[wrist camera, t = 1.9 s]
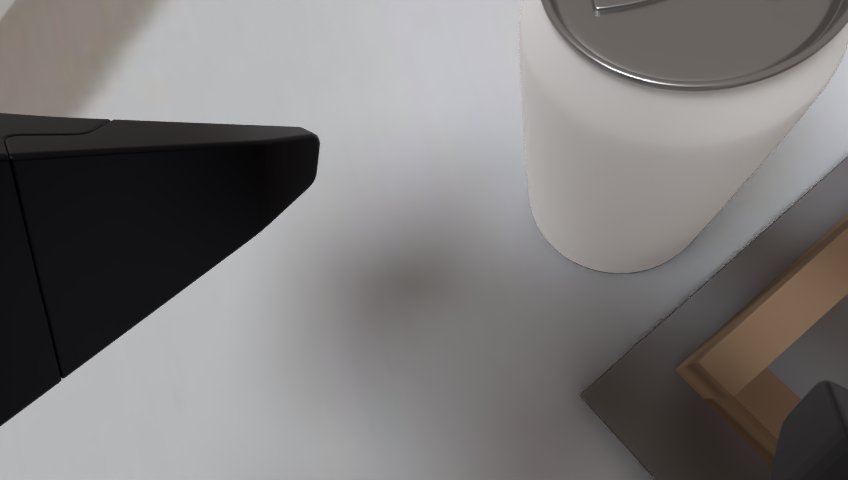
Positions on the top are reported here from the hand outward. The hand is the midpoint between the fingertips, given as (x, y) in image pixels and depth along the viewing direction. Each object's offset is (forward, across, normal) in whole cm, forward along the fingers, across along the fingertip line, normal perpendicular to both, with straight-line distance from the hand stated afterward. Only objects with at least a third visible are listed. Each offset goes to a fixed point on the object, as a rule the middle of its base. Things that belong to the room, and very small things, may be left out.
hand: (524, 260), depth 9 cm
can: (+13, 0, +4) cm, 13 cm away
